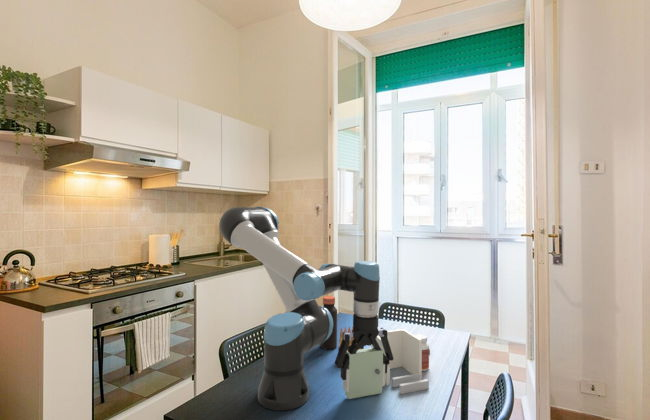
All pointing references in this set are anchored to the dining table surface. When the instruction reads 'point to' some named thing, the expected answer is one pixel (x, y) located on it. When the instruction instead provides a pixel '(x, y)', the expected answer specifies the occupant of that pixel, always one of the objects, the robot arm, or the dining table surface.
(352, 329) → the ammunition clip
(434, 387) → the dining table surface
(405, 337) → the cabinet
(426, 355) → the pill bottle
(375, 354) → the door
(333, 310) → the vinegar
